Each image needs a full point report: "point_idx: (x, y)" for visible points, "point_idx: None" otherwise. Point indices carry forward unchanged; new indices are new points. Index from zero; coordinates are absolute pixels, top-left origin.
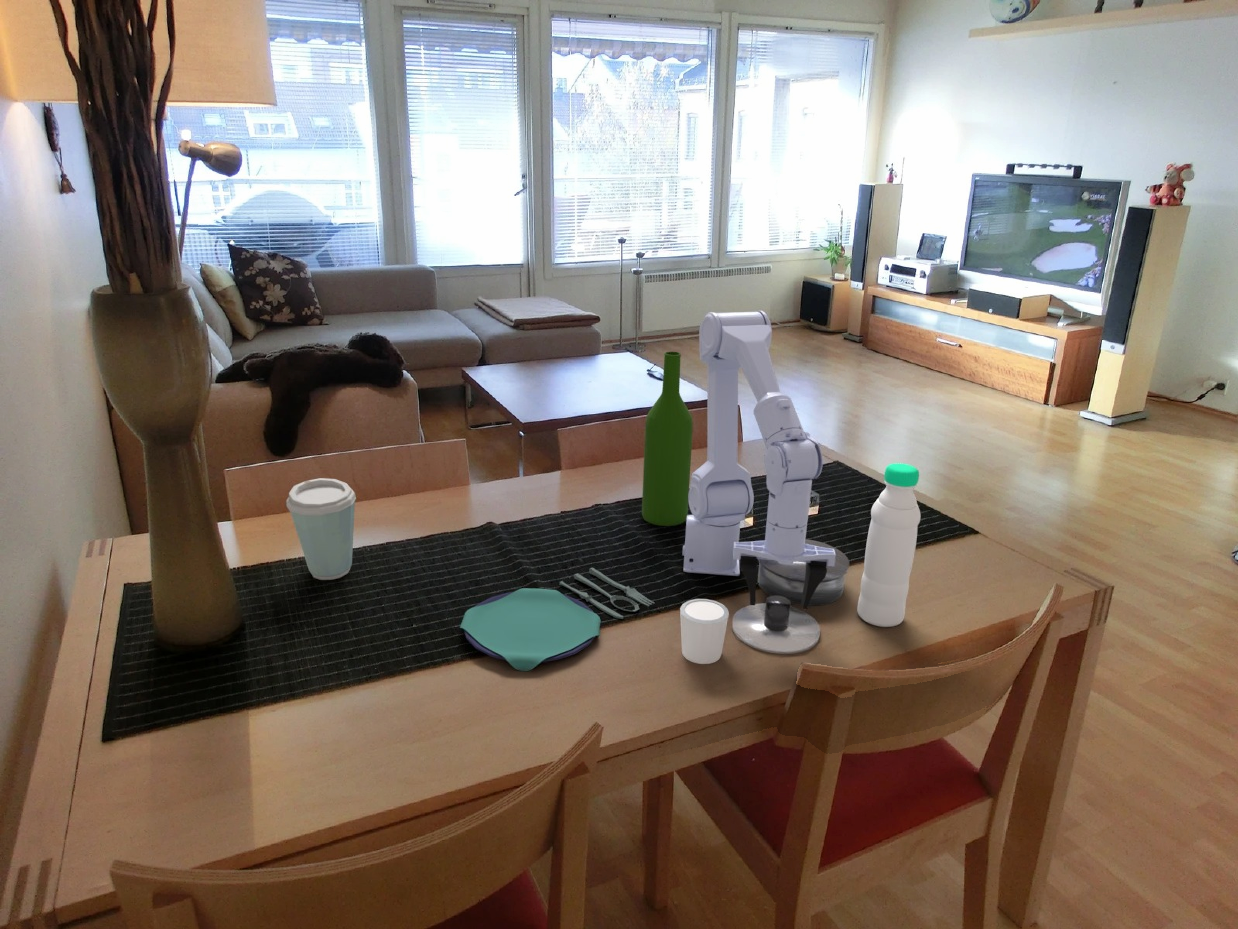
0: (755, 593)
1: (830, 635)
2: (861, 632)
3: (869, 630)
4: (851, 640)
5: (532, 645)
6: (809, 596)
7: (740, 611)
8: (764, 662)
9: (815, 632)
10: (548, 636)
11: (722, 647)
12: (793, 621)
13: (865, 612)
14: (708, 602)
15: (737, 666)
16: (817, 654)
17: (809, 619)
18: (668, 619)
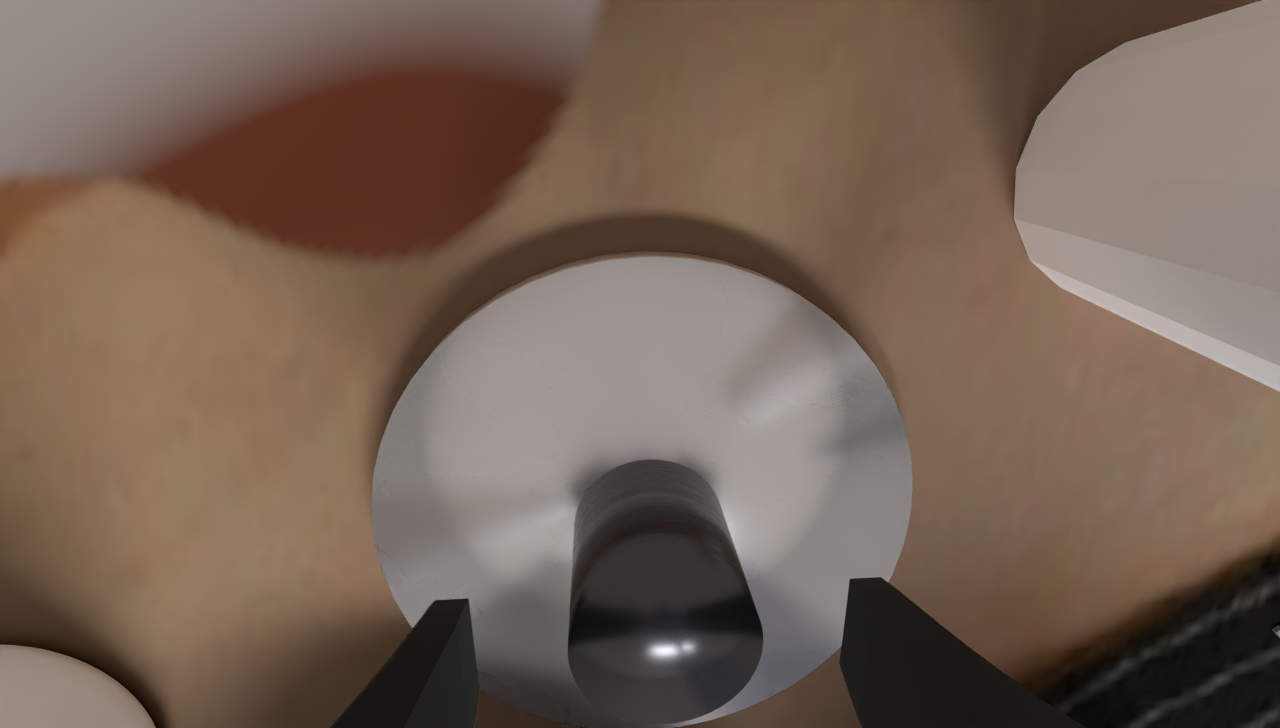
0: (917, 648)
1: (315, 508)
2: (127, 572)
3: (81, 600)
4: (180, 479)
5: None
6: (386, 687)
7: None
8: (744, 125)
9: (399, 487)
10: None
11: (1055, 164)
12: (539, 579)
13: (69, 725)
14: None
15: (931, 43)
16: (389, 284)
17: None
18: (1240, 499)
